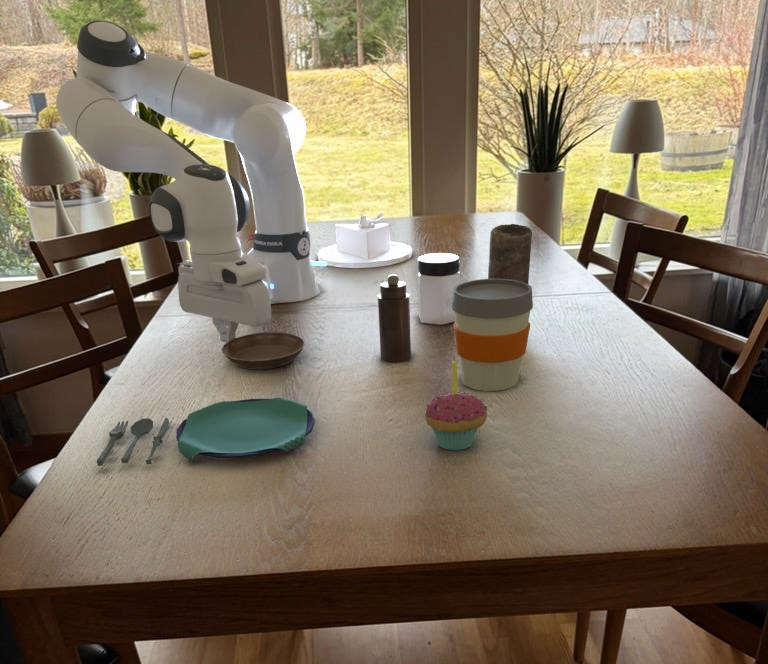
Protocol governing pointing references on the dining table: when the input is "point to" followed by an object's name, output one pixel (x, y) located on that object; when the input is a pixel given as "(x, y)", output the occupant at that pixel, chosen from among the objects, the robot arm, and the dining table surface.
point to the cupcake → (455, 416)
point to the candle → (510, 252)
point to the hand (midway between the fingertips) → (228, 341)
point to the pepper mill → (394, 321)
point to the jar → (437, 287)
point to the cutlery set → (228, 430)
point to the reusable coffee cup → (491, 331)
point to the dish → (364, 246)
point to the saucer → (263, 350)
